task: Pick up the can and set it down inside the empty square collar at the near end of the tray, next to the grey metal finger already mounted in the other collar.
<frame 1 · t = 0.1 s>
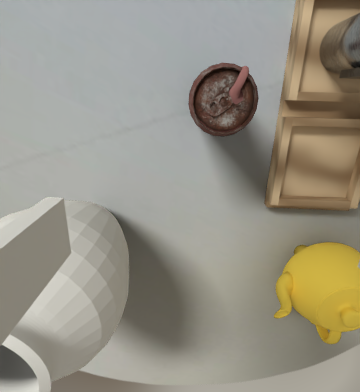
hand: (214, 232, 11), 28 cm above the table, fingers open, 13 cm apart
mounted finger: (337, 49, 33), resting on tray
vase: (94, 224, 43), on the table
can: (212, 97, 35), on the table
teapot: (313, 269, 45), on the table
tray: (324, 108, 35), on the table
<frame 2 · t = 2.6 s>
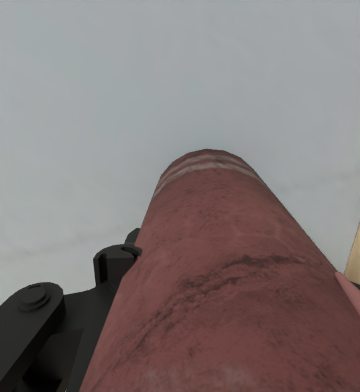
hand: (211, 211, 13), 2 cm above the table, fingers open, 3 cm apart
can: (208, 195, 16), on the table
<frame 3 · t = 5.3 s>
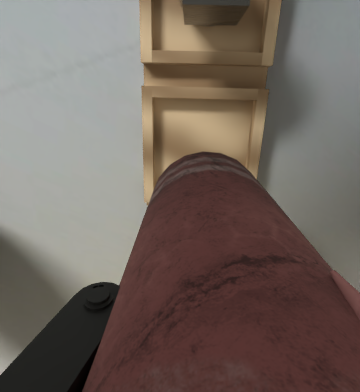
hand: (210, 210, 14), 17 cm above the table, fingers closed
can: (205, 197, 16), point 15 cm above the table, touching hand
tray: (204, 77, 27), on the table
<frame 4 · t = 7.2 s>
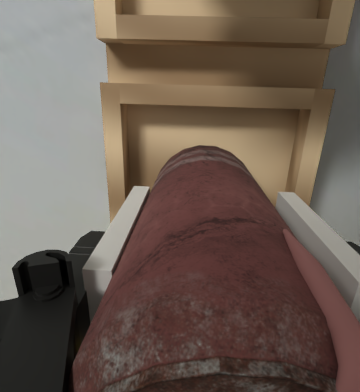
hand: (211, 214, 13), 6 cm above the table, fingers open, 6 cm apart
can: (203, 187, 17), point 1 cm above the table, touching tray
tray: (213, 69, 16), on the table
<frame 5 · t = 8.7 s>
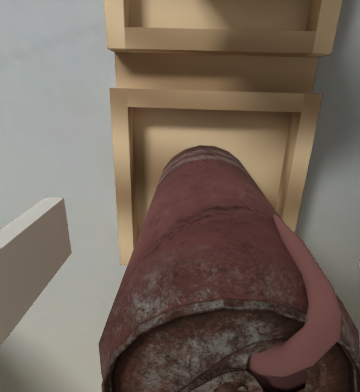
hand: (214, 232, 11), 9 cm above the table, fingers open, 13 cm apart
can: (203, 184, 19), point 1 cm above the table, touching tray
tray: (212, 75, 17), on the table
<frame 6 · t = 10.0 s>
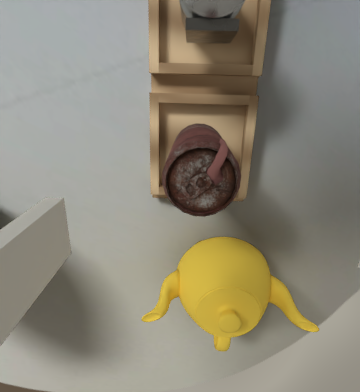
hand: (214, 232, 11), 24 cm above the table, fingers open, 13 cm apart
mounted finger: (207, 16, 29), resting on tray
can: (198, 147, 33), point 1 cm above the table, touching tray
teapot: (219, 268, 41), on the table
tray: (203, 85, 31), on the table
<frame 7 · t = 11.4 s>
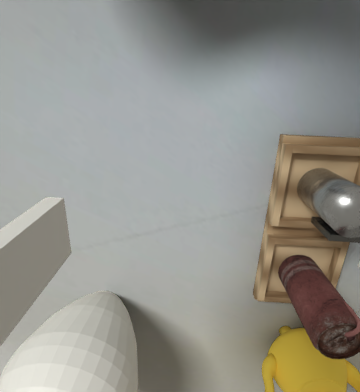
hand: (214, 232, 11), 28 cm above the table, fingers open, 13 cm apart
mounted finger: (312, 183, 40), resting on tray
vase: (105, 305, 50), on the table
can: (296, 267, 43), point 1 cm above the table, touching tray
teapot: (295, 345, 51), on the table
tray: (302, 225, 42), on the table
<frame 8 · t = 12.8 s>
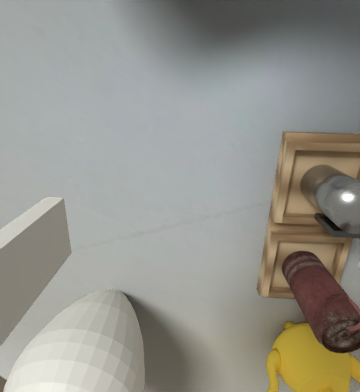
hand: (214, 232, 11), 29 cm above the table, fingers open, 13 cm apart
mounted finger: (315, 180, 40), resting on tray
vase: (111, 302, 50), on the table
can: (299, 263, 44), point 1 cm above the table, touching tray
teapot: (299, 339, 52), on the table
tray: (305, 221, 42), on the table
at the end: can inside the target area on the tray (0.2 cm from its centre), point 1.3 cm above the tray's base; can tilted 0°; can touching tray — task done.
